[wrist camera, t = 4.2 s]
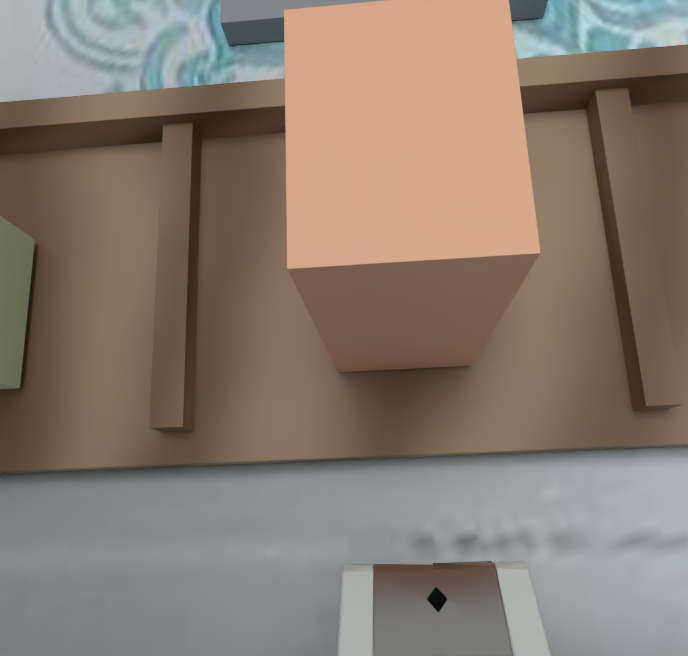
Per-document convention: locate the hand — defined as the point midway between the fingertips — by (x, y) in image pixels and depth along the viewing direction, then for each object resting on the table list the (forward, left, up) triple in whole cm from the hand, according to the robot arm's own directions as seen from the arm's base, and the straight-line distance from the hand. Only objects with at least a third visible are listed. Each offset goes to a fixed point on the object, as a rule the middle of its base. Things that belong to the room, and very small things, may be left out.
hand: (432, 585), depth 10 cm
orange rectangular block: (0, +8, -7) cm, 10 cm away
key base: (0, +9, -9) cm, 12 cm away
